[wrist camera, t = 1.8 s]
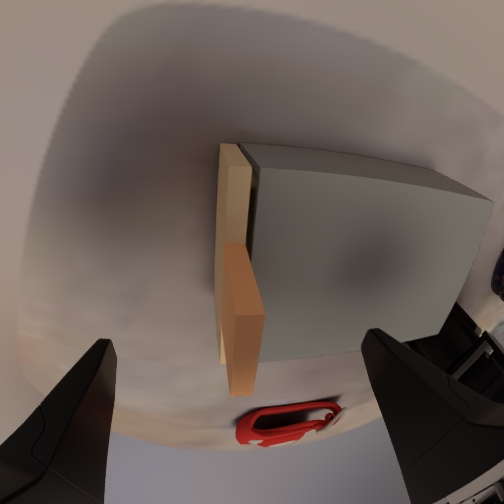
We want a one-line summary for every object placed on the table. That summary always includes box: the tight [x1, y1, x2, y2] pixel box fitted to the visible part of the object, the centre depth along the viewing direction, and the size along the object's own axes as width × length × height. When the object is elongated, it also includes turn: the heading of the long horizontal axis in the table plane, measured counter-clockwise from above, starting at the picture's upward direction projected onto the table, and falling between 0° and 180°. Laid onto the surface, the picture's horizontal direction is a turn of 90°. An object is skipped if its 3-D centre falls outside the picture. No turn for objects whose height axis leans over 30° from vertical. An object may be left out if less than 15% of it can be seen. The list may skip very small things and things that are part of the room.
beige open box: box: [214, 143, 266, 396], centre depth 14 cm, size 14×10×10 cm
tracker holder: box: [236, 402, 347, 447], centre depth 29 cm, size 12×4×10 cm
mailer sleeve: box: [240, 143, 494, 362], centre depth 16 cm, size 14×10×6 cm
